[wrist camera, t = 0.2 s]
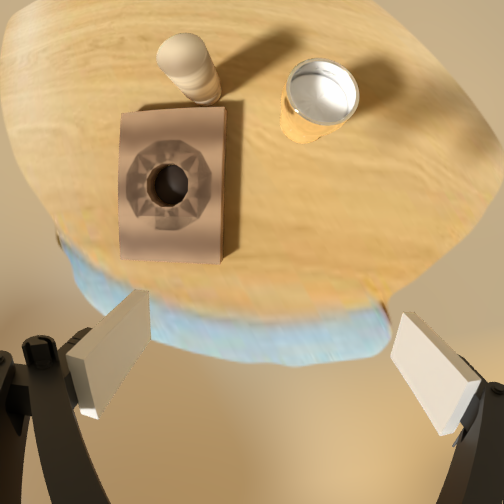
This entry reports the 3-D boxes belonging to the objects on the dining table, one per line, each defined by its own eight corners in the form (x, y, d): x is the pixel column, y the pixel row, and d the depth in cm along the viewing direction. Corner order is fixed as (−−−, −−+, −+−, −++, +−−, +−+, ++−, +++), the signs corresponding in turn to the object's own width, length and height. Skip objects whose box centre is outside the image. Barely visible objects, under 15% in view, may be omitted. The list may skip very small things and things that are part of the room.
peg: (190, 77, 37) (159, 35, 23) (224, 76, 37) (207, 31, 23) (187, 108, 38) (154, 77, 24) (222, 107, 38) (203, 73, 24)
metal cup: (276, 96, 37) (283, 53, 23) (327, 99, 37) (359, 60, 22) (276, 146, 39) (283, 125, 24) (328, 148, 39) (363, 131, 24)
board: (130, 117, 38) (121, 113, 35) (227, 112, 38) (224, 106, 35) (129, 254, 43) (120, 259, 40) (222, 258, 42) (219, 264, 39)
